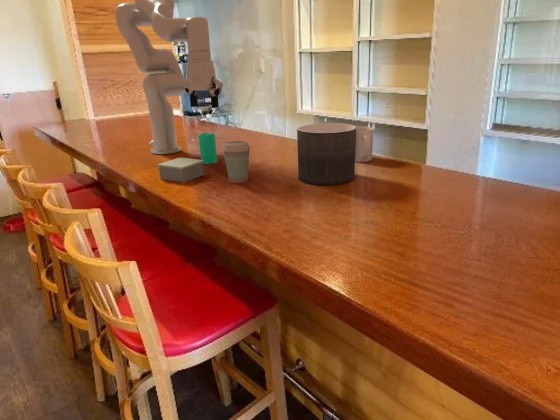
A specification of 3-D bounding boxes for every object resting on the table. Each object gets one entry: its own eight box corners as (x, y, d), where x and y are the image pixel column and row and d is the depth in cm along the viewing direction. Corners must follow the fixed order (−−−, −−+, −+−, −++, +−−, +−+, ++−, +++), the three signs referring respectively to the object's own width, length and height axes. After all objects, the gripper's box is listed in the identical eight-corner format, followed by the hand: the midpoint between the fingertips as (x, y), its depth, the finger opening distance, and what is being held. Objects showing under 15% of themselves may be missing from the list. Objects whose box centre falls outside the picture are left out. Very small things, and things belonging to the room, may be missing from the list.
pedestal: (159, 179, 138) (157, 164, 137) (181, 171, 147) (180, 157, 145) (183, 182, 133) (181, 167, 132) (204, 174, 142) (203, 160, 140)
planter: (317, 189, 122) (317, 135, 116) (288, 175, 137) (286, 127, 131) (366, 179, 129) (368, 128, 124) (333, 167, 144) (334, 121, 139)
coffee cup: (256, 177, 136) (253, 140, 132) (245, 185, 128) (242, 146, 124) (232, 176, 139) (229, 140, 135) (220, 183, 131) (216, 145, 127)
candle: (214, 164, 155) (211, 131, 151) (198, 163, 156) (195, 131, 152) (219, 160, 161) (216, 128, 157) (204, 160, 162) (201, 128, 158)
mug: (376, 156, 156) (378, 126, 153) (368, 164, 146) (370, 132, 142) (349, 155, 161) (349, 125, 157) (339, 162, 151) (340, 131, 147)
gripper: (173, 57, 147) (179, 107, 153) (212, 56, 138) (217, 109, 144) (188, 57, 153) (193, 105, 159) (226, 55, 144) (230, 106, 150)
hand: (204, 107), depth 152 cm, fingers open, 9 cm apart
